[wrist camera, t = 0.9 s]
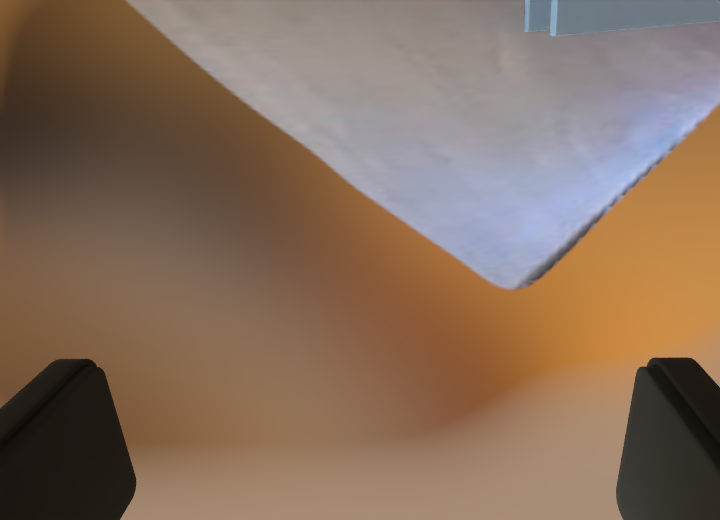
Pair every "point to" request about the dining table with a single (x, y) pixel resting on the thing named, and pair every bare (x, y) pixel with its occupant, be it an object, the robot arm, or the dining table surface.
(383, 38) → the dining table surface
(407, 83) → the dining table surface
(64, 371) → the robot arm
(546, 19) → the blue stand
